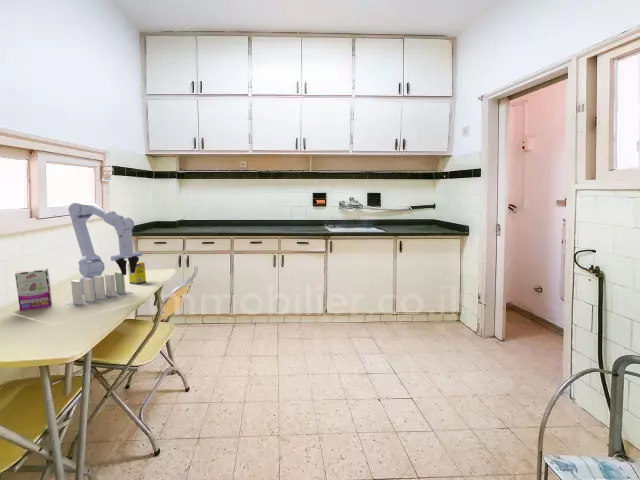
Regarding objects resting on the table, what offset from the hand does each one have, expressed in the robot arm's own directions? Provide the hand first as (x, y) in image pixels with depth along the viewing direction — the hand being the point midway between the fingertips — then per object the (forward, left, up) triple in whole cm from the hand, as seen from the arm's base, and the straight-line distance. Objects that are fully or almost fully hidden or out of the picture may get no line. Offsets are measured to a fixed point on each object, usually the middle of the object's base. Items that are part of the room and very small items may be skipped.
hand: (128, 273), depth 192 cm
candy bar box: (-23, -28, -11) cm, 38 cm away
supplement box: (-19, +23, -11) cm, 32 cm away
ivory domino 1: (-10, -19, -10) cm, 23 cm away
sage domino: (-7, +1, -10) cm, 12 cm away
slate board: (-9, -9, -10) cm, 16 cm away
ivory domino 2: (-9, -14, -10) cm, 19 cm away
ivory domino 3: (-9, -9, -10) cm, 16 cm away
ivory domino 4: (-8, -4, -10) cm, 13 cm away
